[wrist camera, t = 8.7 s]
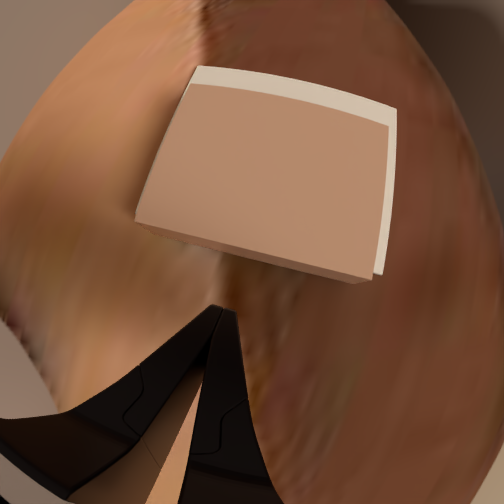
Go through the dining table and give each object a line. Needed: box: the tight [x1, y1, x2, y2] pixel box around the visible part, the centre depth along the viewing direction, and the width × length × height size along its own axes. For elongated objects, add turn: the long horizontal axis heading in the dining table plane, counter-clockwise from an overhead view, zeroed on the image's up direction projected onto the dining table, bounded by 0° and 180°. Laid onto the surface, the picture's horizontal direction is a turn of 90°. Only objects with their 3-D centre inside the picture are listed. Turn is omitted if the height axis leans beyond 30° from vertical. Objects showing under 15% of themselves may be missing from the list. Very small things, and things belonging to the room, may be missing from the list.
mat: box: [135, 66, 397, 275], centre depth 19 cm, size 13×16×1 cm
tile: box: [134, 83, 389, 284], centre depth 16 cm, size 4×12×9 cm
